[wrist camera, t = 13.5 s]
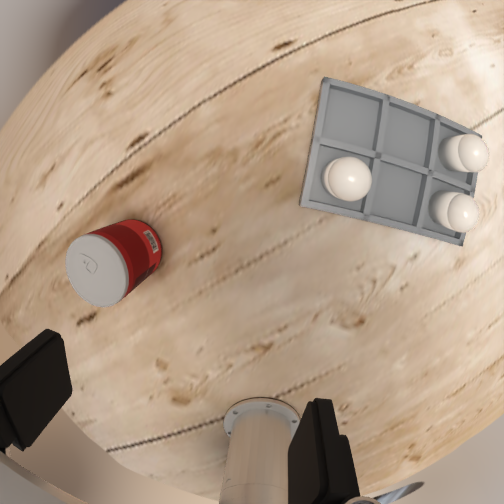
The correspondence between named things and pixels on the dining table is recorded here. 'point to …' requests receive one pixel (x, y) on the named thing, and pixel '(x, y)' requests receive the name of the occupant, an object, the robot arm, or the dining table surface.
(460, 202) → the seated egg
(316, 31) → the dining table surface
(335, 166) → the loose egg
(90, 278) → the canned food
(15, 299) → the dining table surface
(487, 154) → the seated egg
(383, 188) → the egg carton
